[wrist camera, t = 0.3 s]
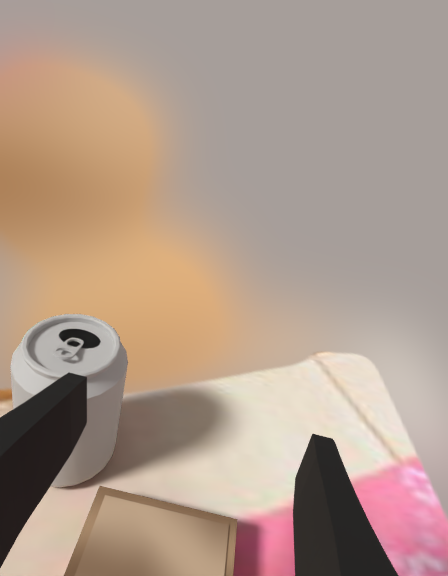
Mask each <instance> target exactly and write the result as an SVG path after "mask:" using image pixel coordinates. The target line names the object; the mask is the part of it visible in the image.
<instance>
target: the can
mask: <svg viewBox="0 0 448 576" xmlns="http://www.w3.org/2000/svg"><path fill="white" fill-rule="evenodd" d="M127 365H128V360H127V354H126V350H125V348H124V347H123V345H122V344H121V342H120V337H119V336H118V334H117V332H116V331H115V330H114V328H112V327H111V326H110V325H109V324H107V323H106V322H104V321H102V320H100V319H97V318H95V317H92V316H87V315H81V314H64V315H59V316H53V317H50V318H48V319H46V320H43V321H40V322H38V323H37V324H36V325H34V326H33V327H32V328H30V329H29V330H28V331H27V333H26V334H25V336H24V337H23V339H22V342H21V343H20V345H19V346H18V347H17V349H16V350H15V352H14V353H13V356H12V362H11V367H10V368H11V383H12V398H13V409H15V408H16V407H18V406H19V405H21V404H22V403H24V402H25V401H27V400H28V399H30V398H31V397H33V396H34V395H36V394H37V393H39V392H40V391H42V390H43V389H45V388H46V387H48V386H49V385H51V384H52V383H53V382H55V381H56V380H58V379H59V378H61V377H62V376H64V375H65V374H67V373H69V372H70V373H74V374H77V375H81V376H85V377H87V424H86V426H85V428H84V430H83V432H82V434H81V436H80V438H79V440H78V442H77V444H76V446H75V448H74V450H73V452H72V454H71V455H70V457H69V458H68V460H67V461H66V463H65V464H64V466H63V467H62V469H61V471H60V472H59V474H58V475H57V477H56V478H55V480H54V481H53V483H52V484H51V486H52V487H65V486H72V485H77V484H79V483H82V482H84V481H86V480H89V479H91V478H92V477H94V476H95V475H96V474H97V473H99V472H100V471H101V470H102V469H104V467H105V466H106V464H107V463H108V462H109V460H110V459H111V457H112V455H113V452H114V448H115V444H116V439H117V432H118V425H119V418H120V412H121V405H122V398H123V392H124V385H125V378H126V372H127Z"/></svg>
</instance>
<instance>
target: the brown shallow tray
mask: <svg viewBox="0 0 448 576" xmlns="http://www.w3.org/2000/svg"><path fill="white" fill-rule="evenodd" d="M236 530H237V519H233V518H229V517H225V516H221V515H217V514H213V513H209V512H205V511H201V510H197V509H192V508H188V507H184V506H180V505H176V504H172V503H168V502H164V501H160V500H156V499H151V498H147V497H143V496H139V495H135V494H131V493H127V492H123V491H119V490H115V489H111V488H106V487H102V486H100V487H99V489H98V492H97V494H96V497H95V499H94V502H93V504H92V507H91V509H90V512H89V514H88V517H87V519H86V522H85V524H84V527H83V529H82V532H81V534H80V537H79V539H78V542H77V544H76V547H75V549H74V552H73V554H72V557H71V559H70V562H69V564H68V567H67V569H66V572H65V574H64V576H233V570H234V557H235V544H236Z"/></svg>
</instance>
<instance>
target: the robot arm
mask: <svg viewBox="0 0 448 576" xmlns="http://www.w3.org/2000/svg"><path fill="white" fill-rule="evenodd" d="M86 424H87V377H85V376H81V375H77V374H74V373H70V372H69V373H67V374H65V375H64V376H62V377H61V378H59V379H58V380H56V381H55V382H53V383H52V384H51V385H49V386H48V387H46V388H45V389H43V390H42V391H40V392H39V393H37V394H36V395H34V396H33V397H31V398H30V399H28V400H27V401H25V402H24V403H22V404H21V405H19V406H18V407H16V408H15V409H13V410H11V411H10V412H8V413H7V414H5V415H4V416H2V417H0V568H1V566H2V564H3V562H4V560H5V559H6V557H7V555H8V553H9V551H10V549H11V548H12V546H13V544H14V542H15V540H16V538H17V537H18V535H19V533H20V532H21V530H22V528H23V527H24V525H25V524H26V522H27V520H28V519H29V517H30V516H31V514H32V513H33V511H34V510H35V508H36V507H37V505H38V504H39V502H40V501H41V499H42V498H43V496H44V495H45V493H46V492H47V490H48V489H49V487H50V486H51V484H52V483H53V481H54V480H55V478H56V477H57V475H58V474H59V472H60V471H61V469H62V467H63V466H64V464H65V463H66V461H67V460H68V458H69V457H70V455H71V454H72V452H73V450H74V448H75V446H76V444H77V442H78V440H79V438H80V436H81V434H82V432H83V430H84V428H85V426H86ZM293 526H294V554H295V576H398V574H397V572H396V571H395V569H394V567H393V566H392V564H391V562H390V560H389V559H388V557H387V555H386V553H385V551H384V549H383V548H382V546H381V544H380V542H379V540H378V538H377V536H376V534H375V532H374V531H373V529H372V527H371V525H370V523H369V521H368V519H367V517H366V514H365V512H364V510H363V508H362V506H361V504H360V502H359V499H358V497H357V495H356V493H355V491H354V488H353V486H352V484H351V482H350V479H349V477H348V474H347V472H346V470H345V467H344V465H343V462H342V460H341V457H340V455H339V452H338V449H337V447H336V444H335V442H334V440H333V439H331V438H327V437H323V436H319V435H316V434H312V436H311V439H310V442H309V444H308V447H307V449H306V452H305V454H304V457H303V460H302V462H301V465H300V467H299V470H298V473H297V475H296V479H295V492H294V506H293Z"/></svg>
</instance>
